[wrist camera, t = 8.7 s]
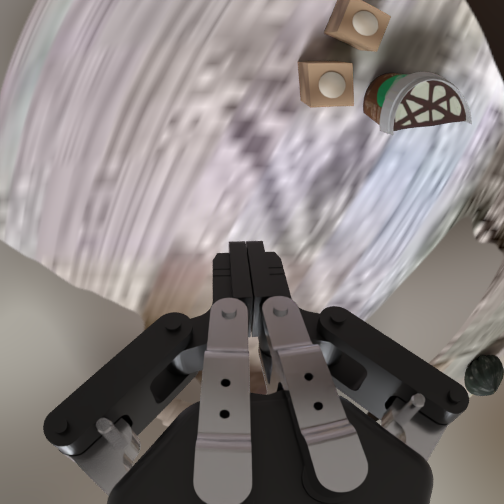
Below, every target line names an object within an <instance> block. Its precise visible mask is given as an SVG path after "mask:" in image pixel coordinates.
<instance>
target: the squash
mask: <svg viewBox="0 0 504 504" xmlns="http://www.w3.org/2000/svg"><path fill="white" fill-rule="evenodd" d="M503 375H504V369H503V366H502V363H501V361H500V359H499V358H498V357H497V356H495V355H487V356H480V357H479V358H478V360H474V361H473V362H472V365H470V366H469V367H468V368H467V369H466V372H465V379H464V380H465V386H466V389H467V390H468V391H469V392H470V393H471V394H474V395H477V396H485V395H486V396H487V395H492V394H494V393H495V392H496V390H497V389H498V387H499V385H500V383H501V381H502V379H503Z"/></svg>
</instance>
